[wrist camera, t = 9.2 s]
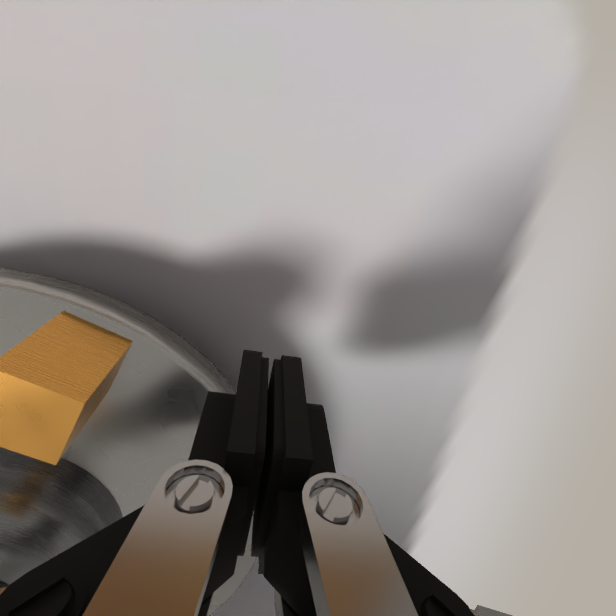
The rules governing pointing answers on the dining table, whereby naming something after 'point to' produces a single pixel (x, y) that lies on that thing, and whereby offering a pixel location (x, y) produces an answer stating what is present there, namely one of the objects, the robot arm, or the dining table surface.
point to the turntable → (101, 390)
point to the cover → (46, 511)
